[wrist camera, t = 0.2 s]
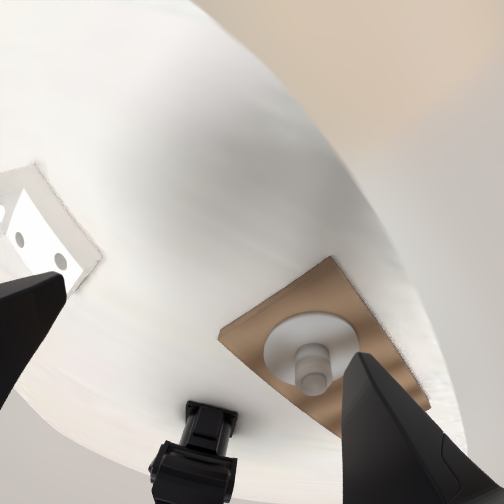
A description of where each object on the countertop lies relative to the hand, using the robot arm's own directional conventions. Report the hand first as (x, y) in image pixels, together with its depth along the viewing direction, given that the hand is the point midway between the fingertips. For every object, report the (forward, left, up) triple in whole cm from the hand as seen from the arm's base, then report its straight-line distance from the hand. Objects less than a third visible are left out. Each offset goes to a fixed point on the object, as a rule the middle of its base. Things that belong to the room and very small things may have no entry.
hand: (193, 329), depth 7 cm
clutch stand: (-16, -13, -15) cm, 25 cm away
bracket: (-6, +21, -15) cm, 26 cm away
